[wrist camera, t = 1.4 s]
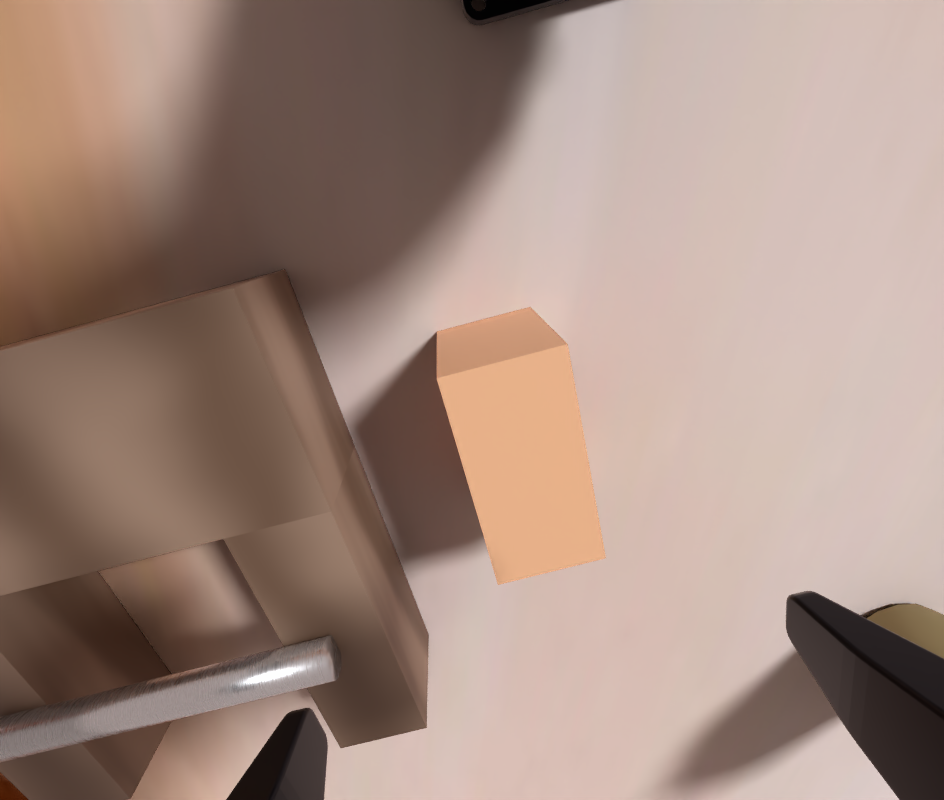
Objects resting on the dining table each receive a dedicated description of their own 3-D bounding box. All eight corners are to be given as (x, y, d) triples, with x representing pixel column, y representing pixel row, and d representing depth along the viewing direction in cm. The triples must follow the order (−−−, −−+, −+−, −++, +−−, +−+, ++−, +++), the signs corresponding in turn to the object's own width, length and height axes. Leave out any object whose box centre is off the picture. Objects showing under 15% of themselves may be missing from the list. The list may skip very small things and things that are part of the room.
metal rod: (330, 625, 19) (321, 661, 17) (344, 653, 19) (336, 690, 18) (1, 707, 19) (-36, 748, 18) (24, 732, 20) (-9, 774, 18)
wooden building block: (530, 306, 19) (567, 344, 14) (564, 473, 22) (605, 558, 17) (436, 331, 19) (436, 378, 14) (483, 493, 23) (498, 585, 17)
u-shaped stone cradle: (285, 269, 18) (232, 288, 14) (428, 634, 26) (426, 727, 21) (-147, 386, 19) (-340, 443, 14) (117, 711, 26) (48, 818, 21)
